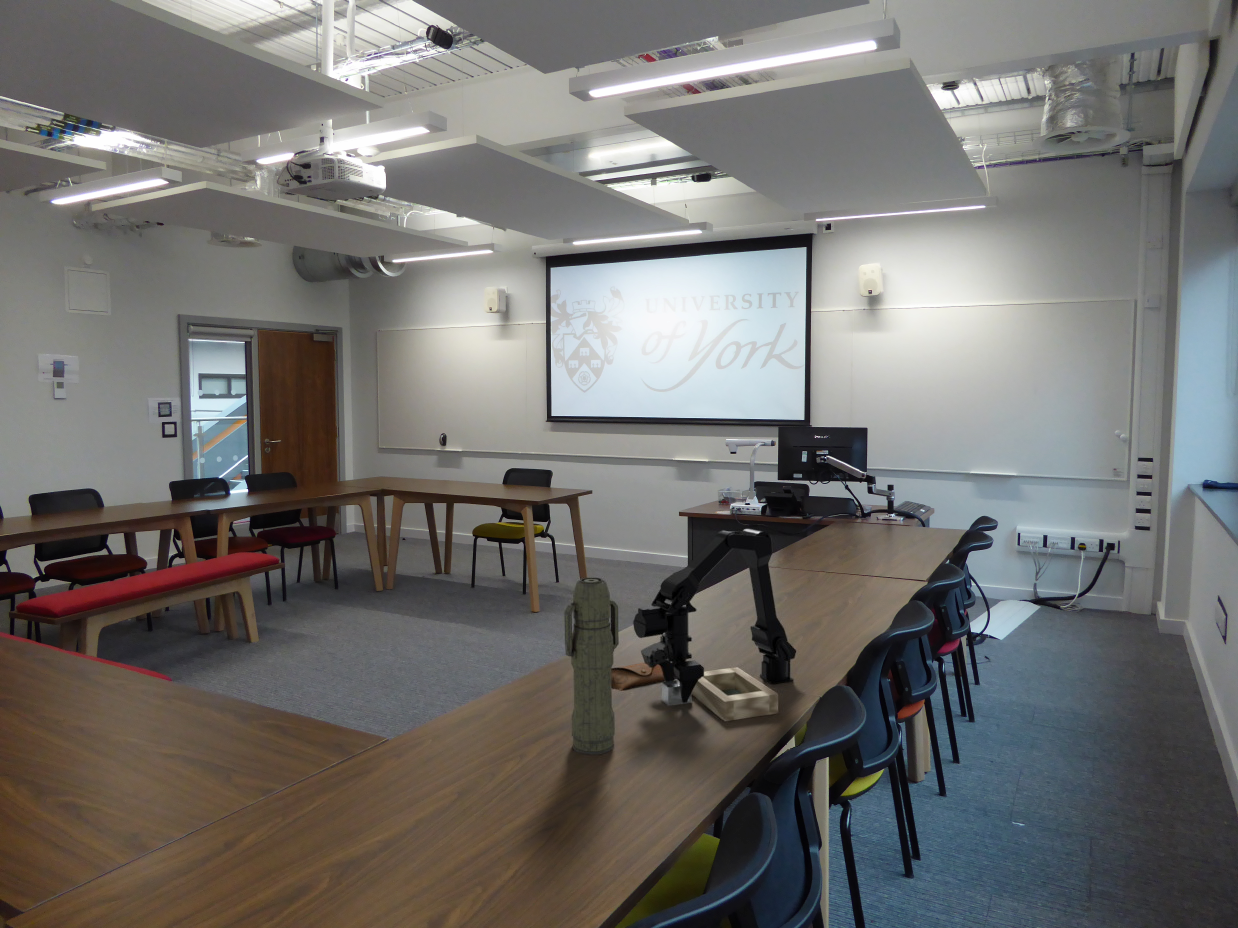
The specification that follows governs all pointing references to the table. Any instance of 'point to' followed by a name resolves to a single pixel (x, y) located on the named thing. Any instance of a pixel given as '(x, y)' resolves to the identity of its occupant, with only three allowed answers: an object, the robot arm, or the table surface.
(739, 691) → the well
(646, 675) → the sunglasses case
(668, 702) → the grey rectangular block
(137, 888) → the table surface
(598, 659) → the thermos
